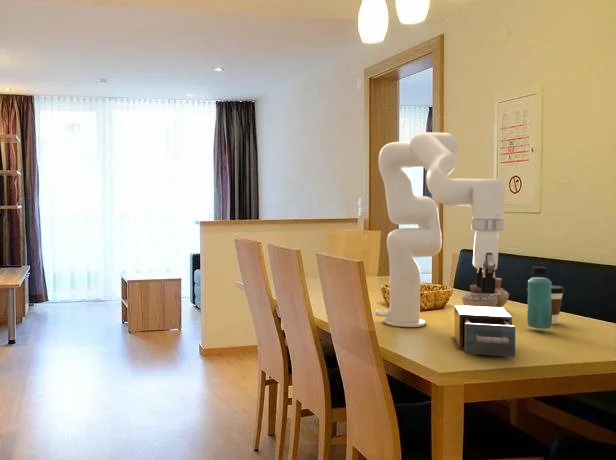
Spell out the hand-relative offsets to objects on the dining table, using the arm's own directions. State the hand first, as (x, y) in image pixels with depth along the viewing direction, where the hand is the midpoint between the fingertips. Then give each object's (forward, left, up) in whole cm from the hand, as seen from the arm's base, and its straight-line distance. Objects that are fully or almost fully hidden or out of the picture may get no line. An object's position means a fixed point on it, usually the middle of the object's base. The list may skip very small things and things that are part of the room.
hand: (485, 290), depth 153 cm
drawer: (0, -3, -16) cm, 16 cm away
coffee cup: (+24, +49, -17) cm, 57 cm away
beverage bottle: (+19, +33, -17) cm, 41 cm away
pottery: (+8, +61, -17) cm, 63 cm away
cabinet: (0, +9, -17) cm, 19 cm away
